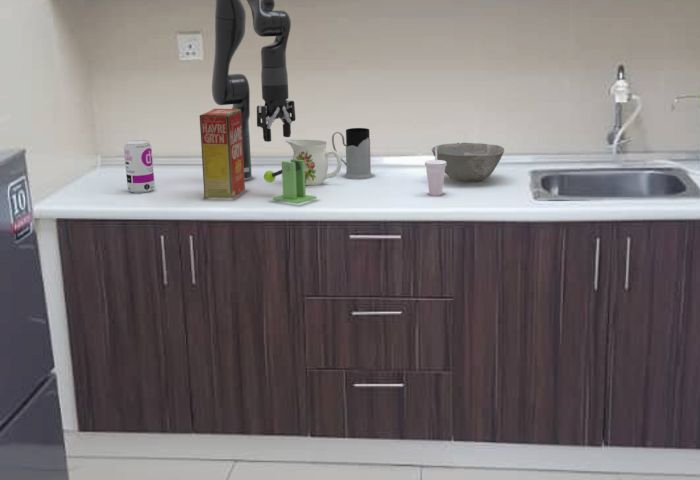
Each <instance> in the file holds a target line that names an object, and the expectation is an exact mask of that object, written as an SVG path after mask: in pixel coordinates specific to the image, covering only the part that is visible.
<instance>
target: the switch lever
mask: <svg viewBox="0 0 700 480" xmlns="http://www.w3.org/2000/svg"><path fill="white" fill-rule="evenodd" d="M294 163H295V166H296V171H297V170H300V167H299V164H298V161H297V162H294ZM280 175H282V169H280V170H278V171H275V172H274V171H272V170H267V171H265V172H264V174H263V179H264V180H265V182H267V183H273V182H274V181H275V180H276V177H277V176H280Z"/></svg>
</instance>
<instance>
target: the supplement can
mask: <svg viewBox="0 0 700 480" xmlns="http://www.w3.org/2000/svg"><path fill="white" fill-rule="evenodd" d="M123 153H124V164H125V173H126V174H125V175H126V185H127V190H128V191H129V192H130V193H134V194H143V193H144V194H145V193H150V192H152V191H154V189H156V183H155V175H154V174H155V173H154V162H153V161H154V160H153V149H152V145H151V144H150V141H149V140H146V139H137V140H136V139H135V140H129V141H126V142H125V144H124V147H123Z"/></svg>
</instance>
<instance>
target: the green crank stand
mask: <svg viewBox="0 0 700 480" xmlns="http://www.w3.org/2000/svg"><path fill="white" fill-rule="evenodd" d="M297 161H298V164H299V167H300V170H297V171H296V166H295V163H294V162H297ZM281 170H282V174H281V178H282V194H281V195H280V194H279V195H277V196H274V197H272V200H273V201H280V202H286V203H293V204H298V205H299V204H302V203H306V202H309V201H312V200H315V199H317V196H315V195H308V194H307V192H306V190H307V189H306V185H305V165H304V160H297V159H293V158H291V159H290V161H286V160H285V161H284V160H283V161H281Z"/></svg>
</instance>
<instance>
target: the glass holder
mask: <svg viewBox="0 0 700 480" xmlns="http://www.w3.org/2000/svg"><path fill="white" fill-rule="evenodd" d="M336 134H339V135H340V136H341V141H342V145H343V146H344V147H345V159H343V158H342V157H341V156H340V158H341V163H343V164H344V165H345V169H346V171H345V172H346V173H345V175H344V177H345V178H347V179H353V180H364V179H370V178H372V177H373V174H372V172H371V171H372V166H371V165H372V163H371V138H370V128H366V127H353V128H352V127H351V128H347V129H345V137H344V135H343V133H342V132H340V131H336V132H334V133H332V136H331V143H332V144H331V145H332V149H333V151H336V152H338V151H337V149H336V145H335V135H336Z"/></svg>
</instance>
